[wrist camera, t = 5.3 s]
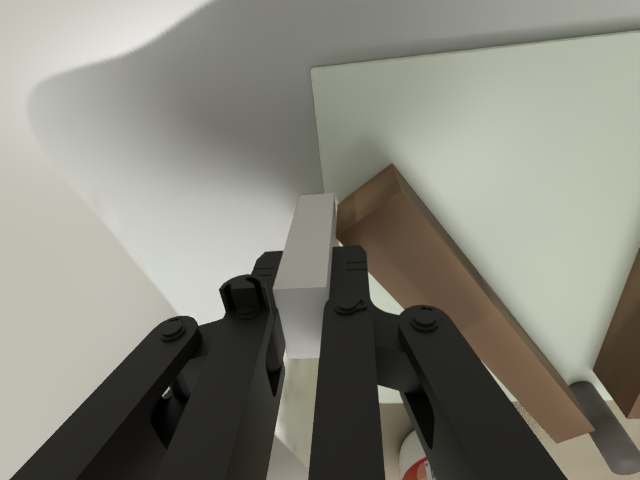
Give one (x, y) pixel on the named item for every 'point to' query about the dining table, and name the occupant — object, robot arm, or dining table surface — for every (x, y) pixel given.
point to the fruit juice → (414, 460)
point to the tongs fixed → (617, 381)
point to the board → (507, 172)
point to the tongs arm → (453, 294)
